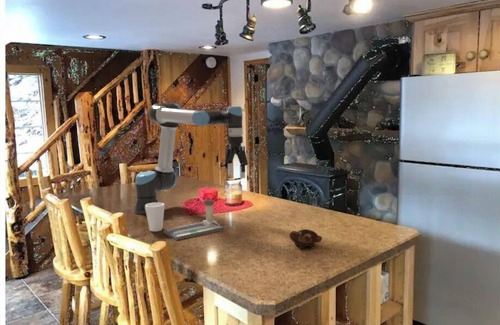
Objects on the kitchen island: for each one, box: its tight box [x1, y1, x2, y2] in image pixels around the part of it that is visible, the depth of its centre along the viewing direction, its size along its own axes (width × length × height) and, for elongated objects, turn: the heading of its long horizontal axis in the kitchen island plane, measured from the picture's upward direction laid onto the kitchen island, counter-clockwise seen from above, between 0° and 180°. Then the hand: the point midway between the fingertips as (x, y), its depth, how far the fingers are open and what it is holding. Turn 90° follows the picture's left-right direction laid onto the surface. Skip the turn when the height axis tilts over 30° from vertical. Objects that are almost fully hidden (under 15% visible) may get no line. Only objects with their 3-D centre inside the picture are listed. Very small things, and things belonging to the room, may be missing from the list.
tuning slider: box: [202, 199, 218, 226], centre depth 205 cm, size 11×5×13 cm, turn 35°
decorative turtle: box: [289, 229, 323, 250], centre depth 179 cm, size 10×15×8 cm, turn 114°
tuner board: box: [163, 221, 225, 241], centre depth 203 cm, size 14×26×3 cm, turn 125°
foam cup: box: [145, 202, 165, 232], centre depth 207 cm, size 10×9×13 cm
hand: (236, 176), depth 218 cm, fingers open, 11 cm apart
